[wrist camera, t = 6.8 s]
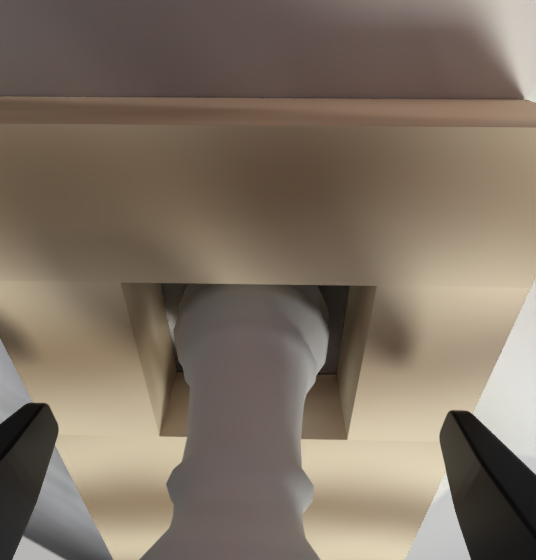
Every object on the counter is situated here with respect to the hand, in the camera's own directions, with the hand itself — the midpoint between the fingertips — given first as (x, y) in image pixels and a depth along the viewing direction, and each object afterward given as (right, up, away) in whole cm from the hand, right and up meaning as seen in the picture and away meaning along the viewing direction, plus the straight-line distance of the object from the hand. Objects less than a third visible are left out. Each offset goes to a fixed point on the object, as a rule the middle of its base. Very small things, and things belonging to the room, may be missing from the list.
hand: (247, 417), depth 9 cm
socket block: (0, 0, +5) cm, 5 cm away
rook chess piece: (0, +2, +3) cm, 4 cm away
